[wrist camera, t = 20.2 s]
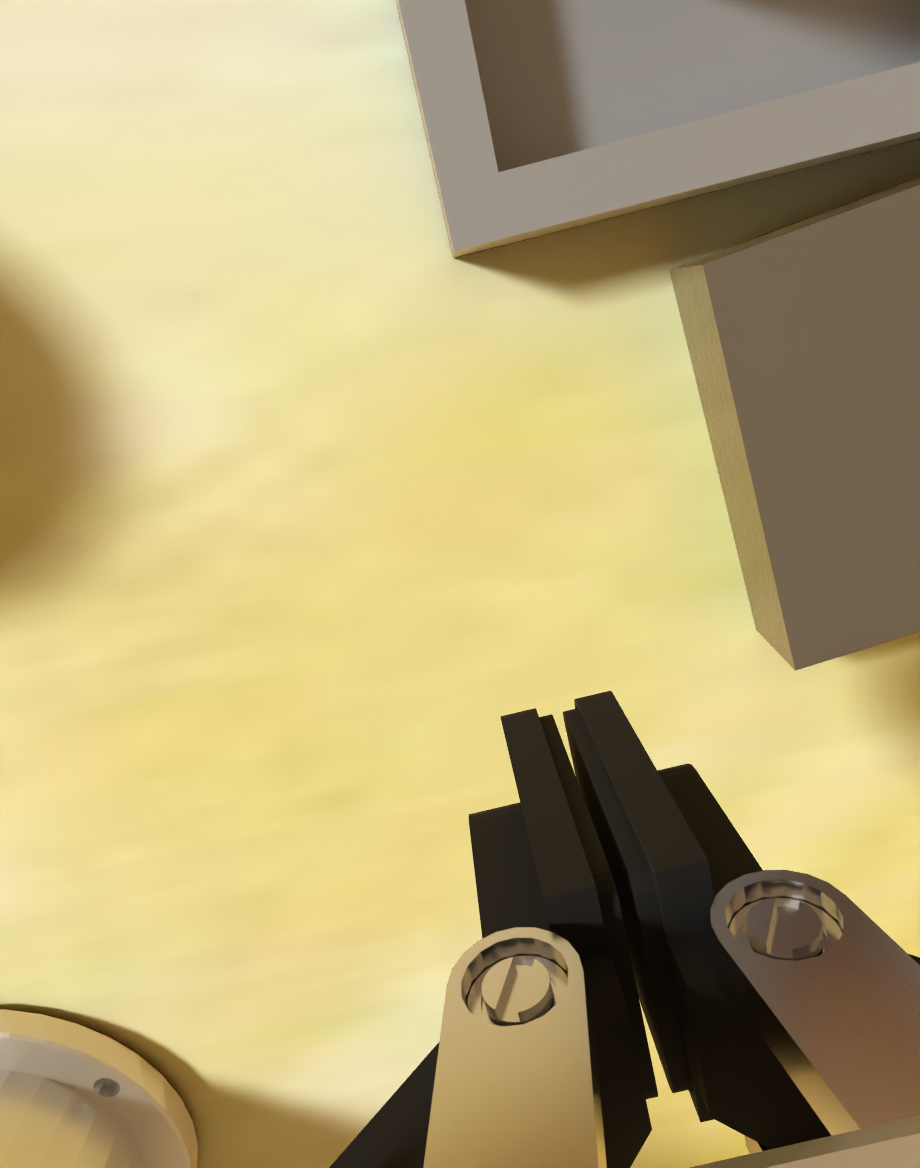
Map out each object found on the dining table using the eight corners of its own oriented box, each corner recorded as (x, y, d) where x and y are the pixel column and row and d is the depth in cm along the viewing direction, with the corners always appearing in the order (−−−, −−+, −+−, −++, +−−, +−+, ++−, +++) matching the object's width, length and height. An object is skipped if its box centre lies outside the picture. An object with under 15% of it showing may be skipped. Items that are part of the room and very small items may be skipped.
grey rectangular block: (1033, 533, 22) (1122, 568, 19) (751, 624, 22) (794, 670, 20) (993, 148, 18) (1093, 120, 15) (664, 270, 19) (702, 265, 16)
